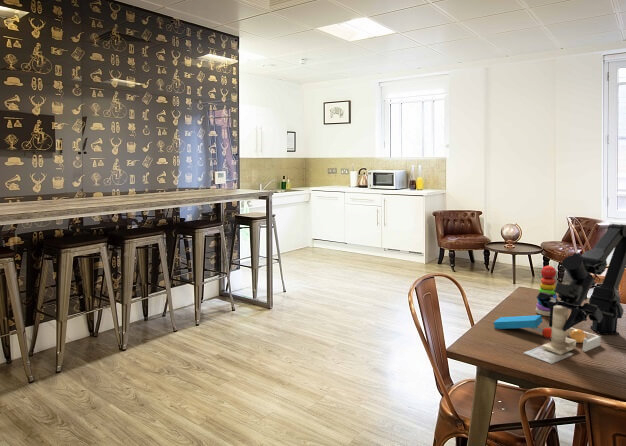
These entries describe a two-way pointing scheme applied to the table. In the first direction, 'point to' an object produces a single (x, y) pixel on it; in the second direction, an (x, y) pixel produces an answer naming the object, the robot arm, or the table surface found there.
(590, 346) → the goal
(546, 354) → the grey rectangular plate
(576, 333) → the ball
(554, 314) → the beige peg stand
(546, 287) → the stacking toy
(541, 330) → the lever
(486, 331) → the table surface
